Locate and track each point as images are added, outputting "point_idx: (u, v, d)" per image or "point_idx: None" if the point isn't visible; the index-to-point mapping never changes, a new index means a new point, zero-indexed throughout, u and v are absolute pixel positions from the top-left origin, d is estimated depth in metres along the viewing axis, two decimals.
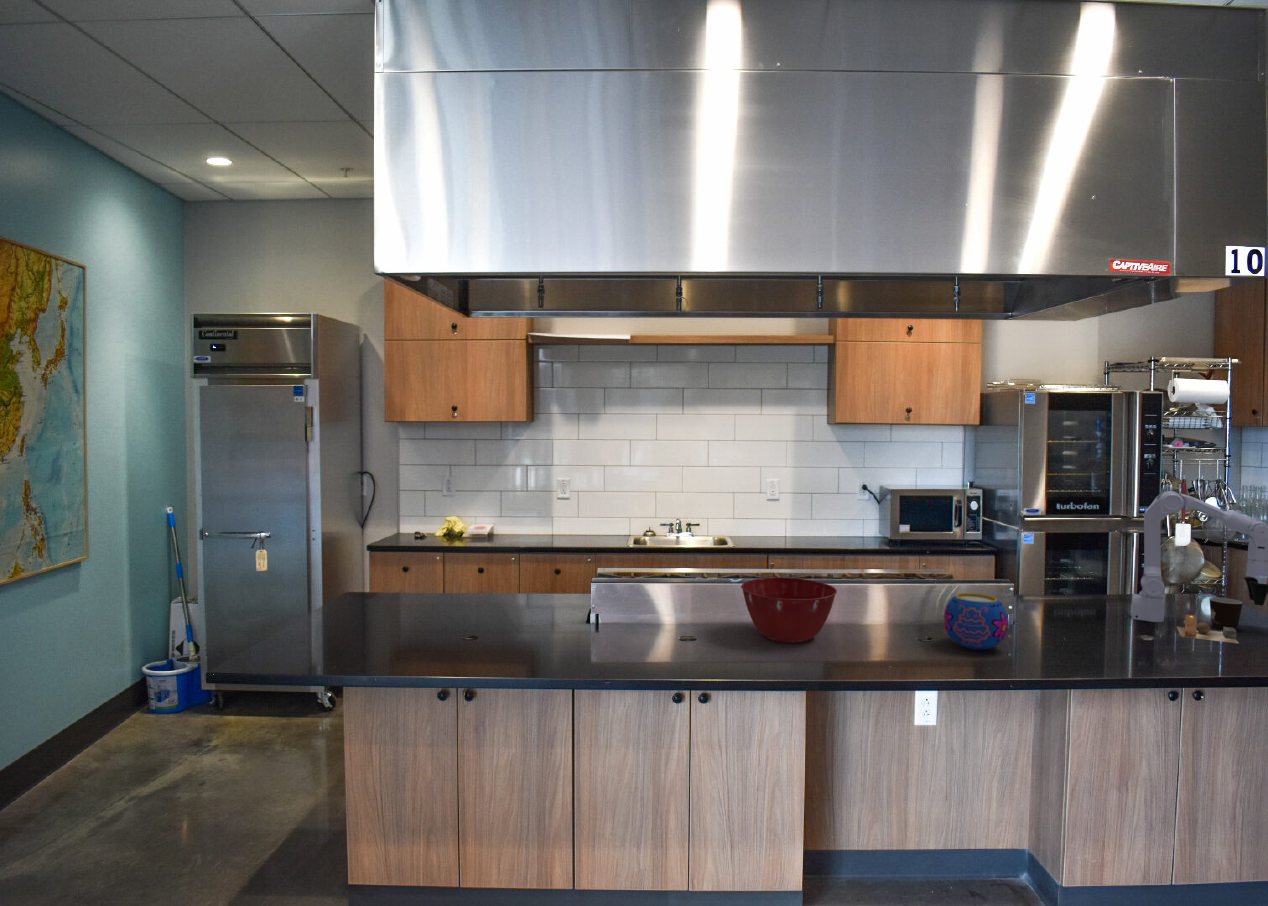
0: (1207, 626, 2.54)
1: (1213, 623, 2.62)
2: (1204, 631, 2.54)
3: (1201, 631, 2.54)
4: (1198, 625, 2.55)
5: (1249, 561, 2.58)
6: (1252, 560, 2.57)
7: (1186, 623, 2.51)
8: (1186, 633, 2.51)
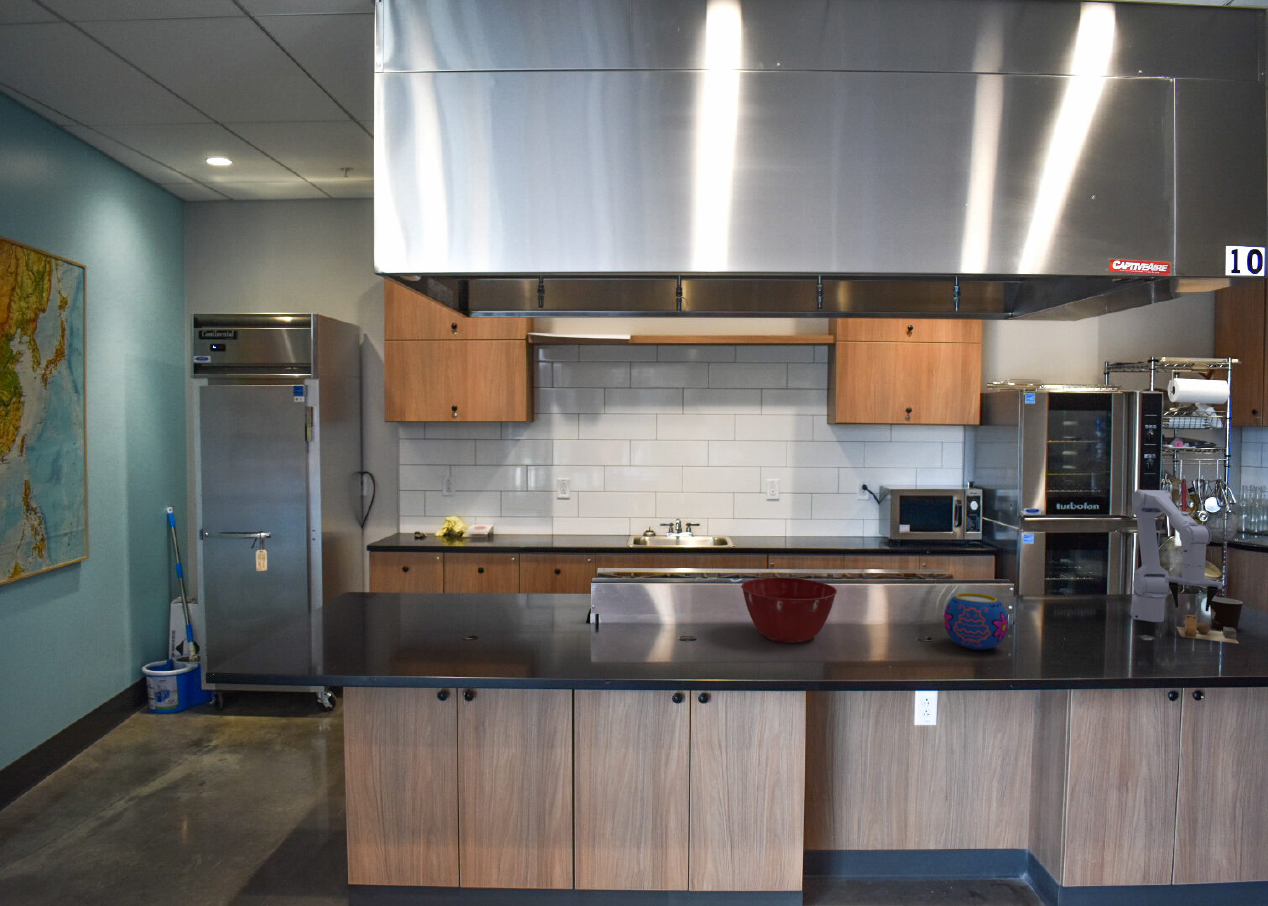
0: (1207, 626, 2.54)
1: (1213, 623, 2.62)
2: (1204, 631, 2.54)
3: (1201, 631, 2.54)
4: (1198, 625, 2.55)
5: None
6: None
7: (1186, 623, 2.51)
8: (1186, 633, 2.51)
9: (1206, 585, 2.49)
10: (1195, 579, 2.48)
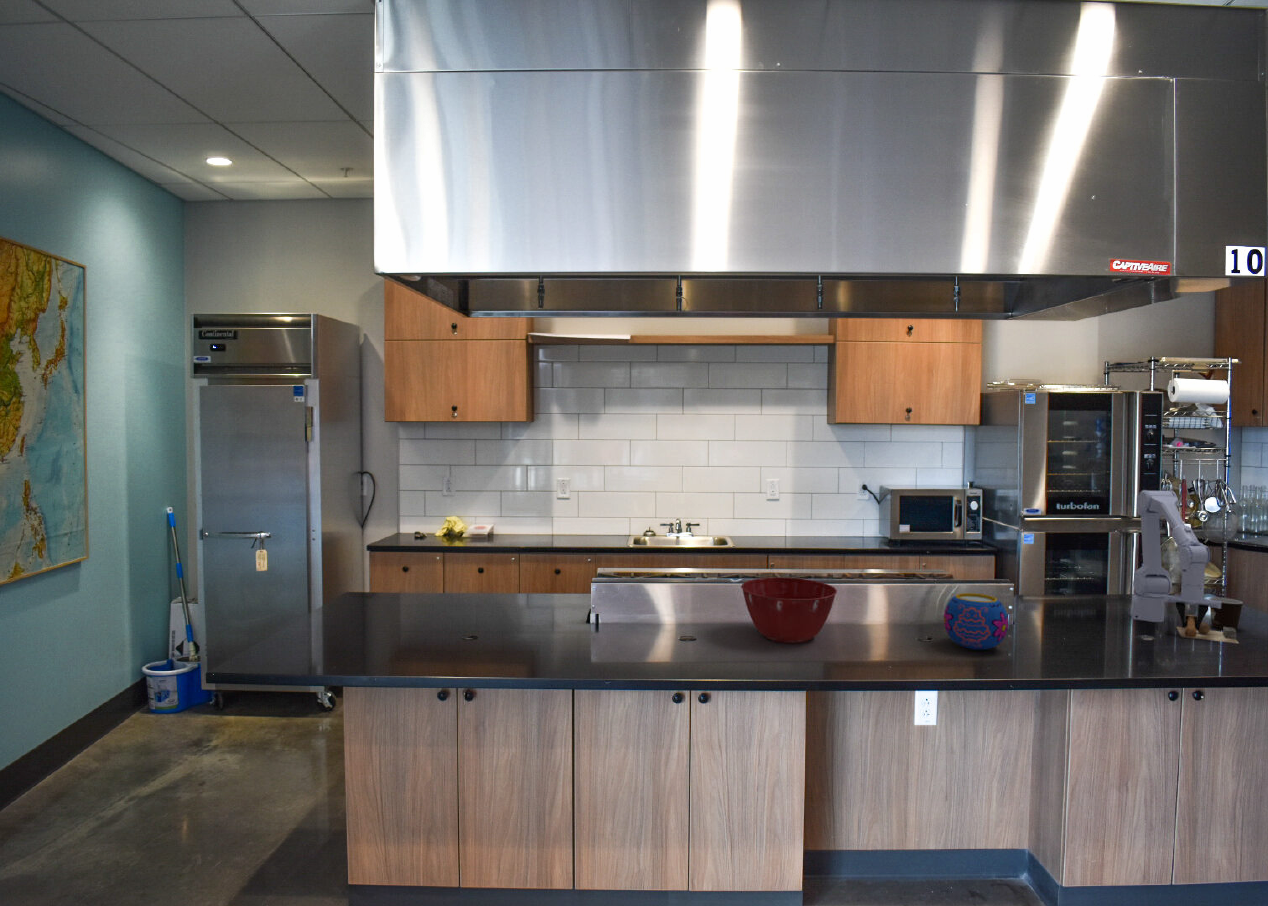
0: (1207, 626, 2.54)
1: (1213, 623, 2.62)
2: (1204, 631, 2.54)
3: (1201, 631, 2.54)
4: None
5: None
6: None
7: (1186, 623, 2.51)
8: (1186, 633, 2.51)
9: (1205, 604, 2.49)
10: (1194, 599, 2.48)
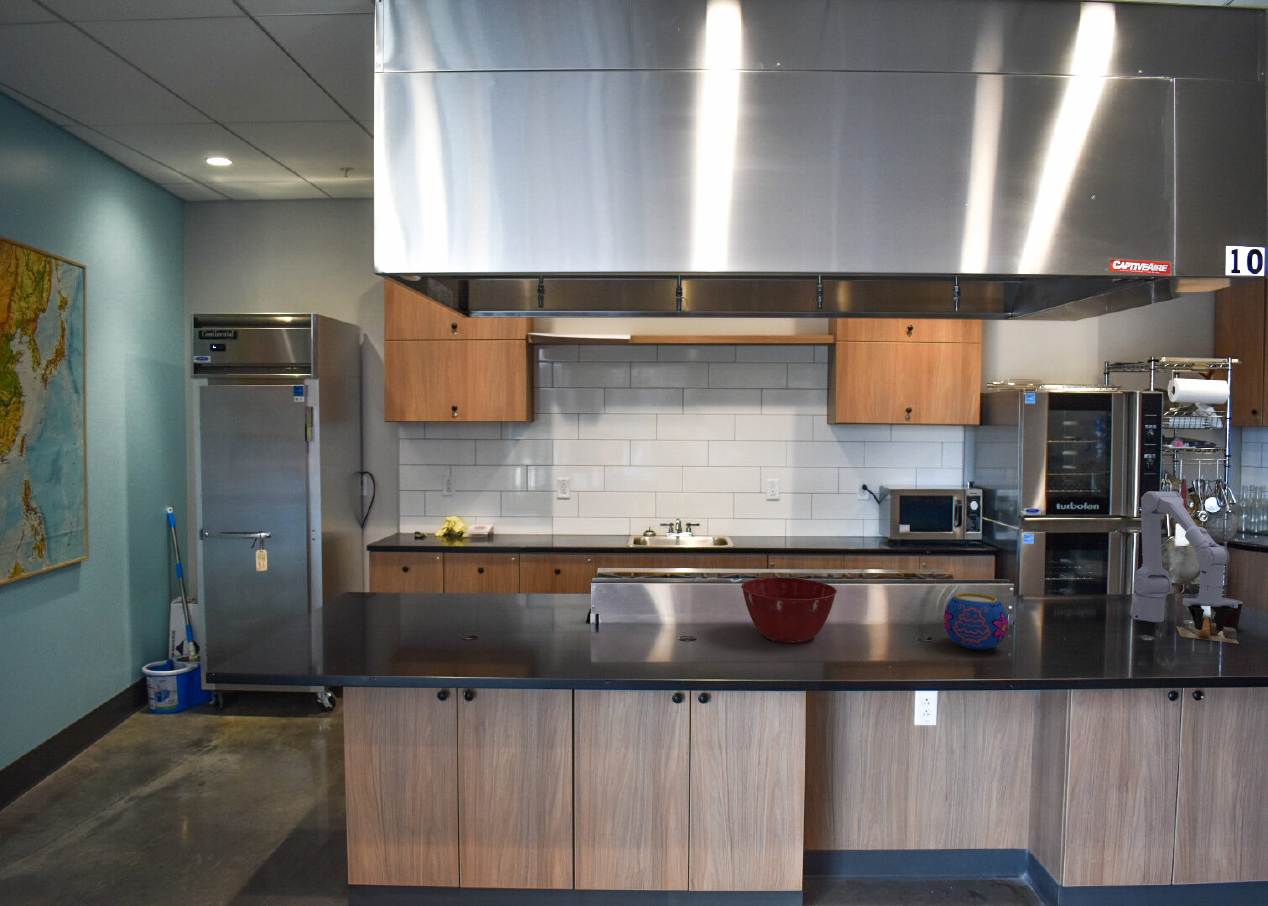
0: (1217, 632, 2.52)
1: None
2: (1211, 630, 2.53)
3: (1210, 628, 2.53)
4: None
5: None
6: None
7: None
8: (1201, 635, 2.49)
9: (1222, 605, 2.49)
10: (1217, 600, 2.47)
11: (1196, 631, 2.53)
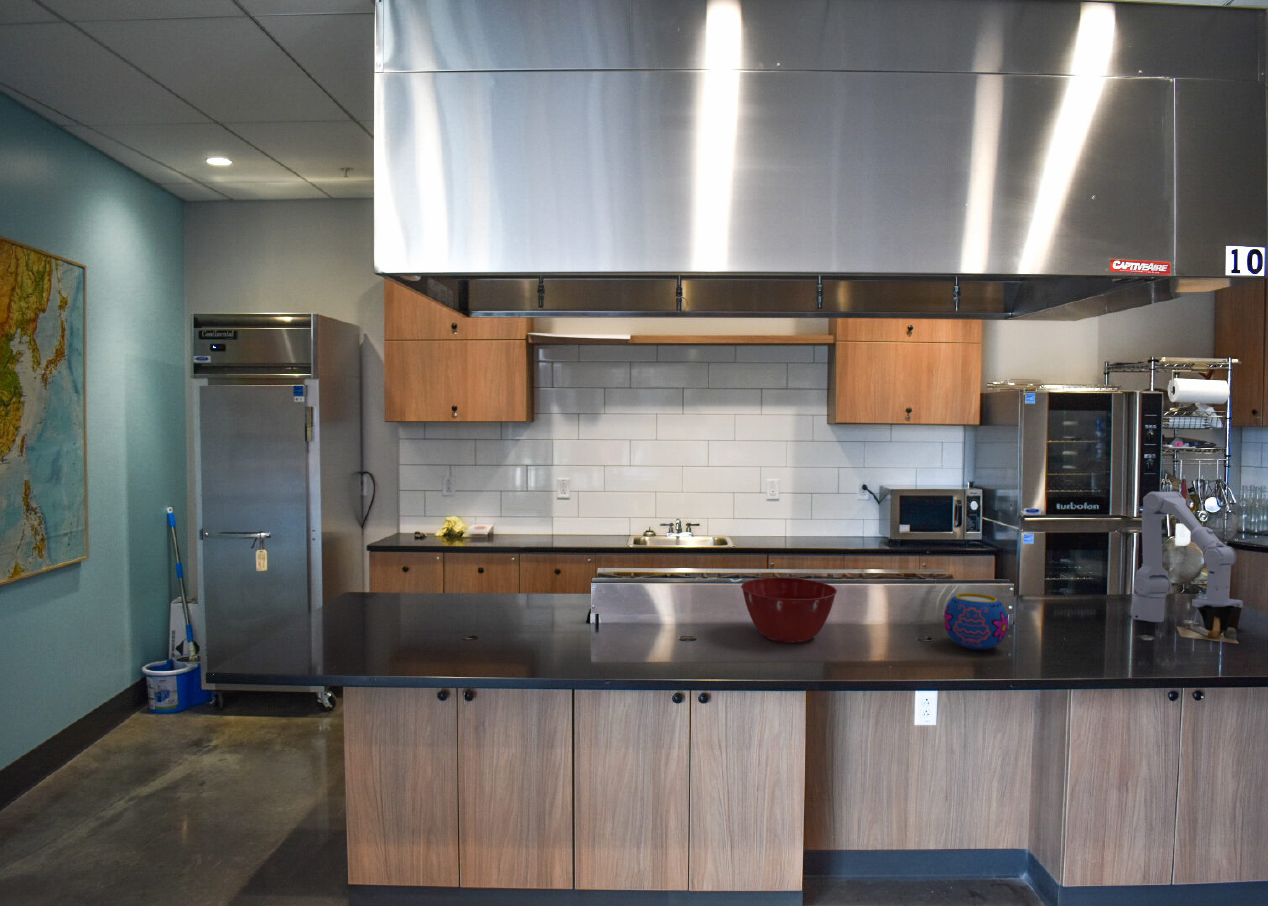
0: None
1: None
2: None
3: None
4: None
5: None
6: None
7: None
8: (1212, 636, 2.49)
9: None
10: (1226, 600, 2.46)
11: (1204, 632, 2.53)
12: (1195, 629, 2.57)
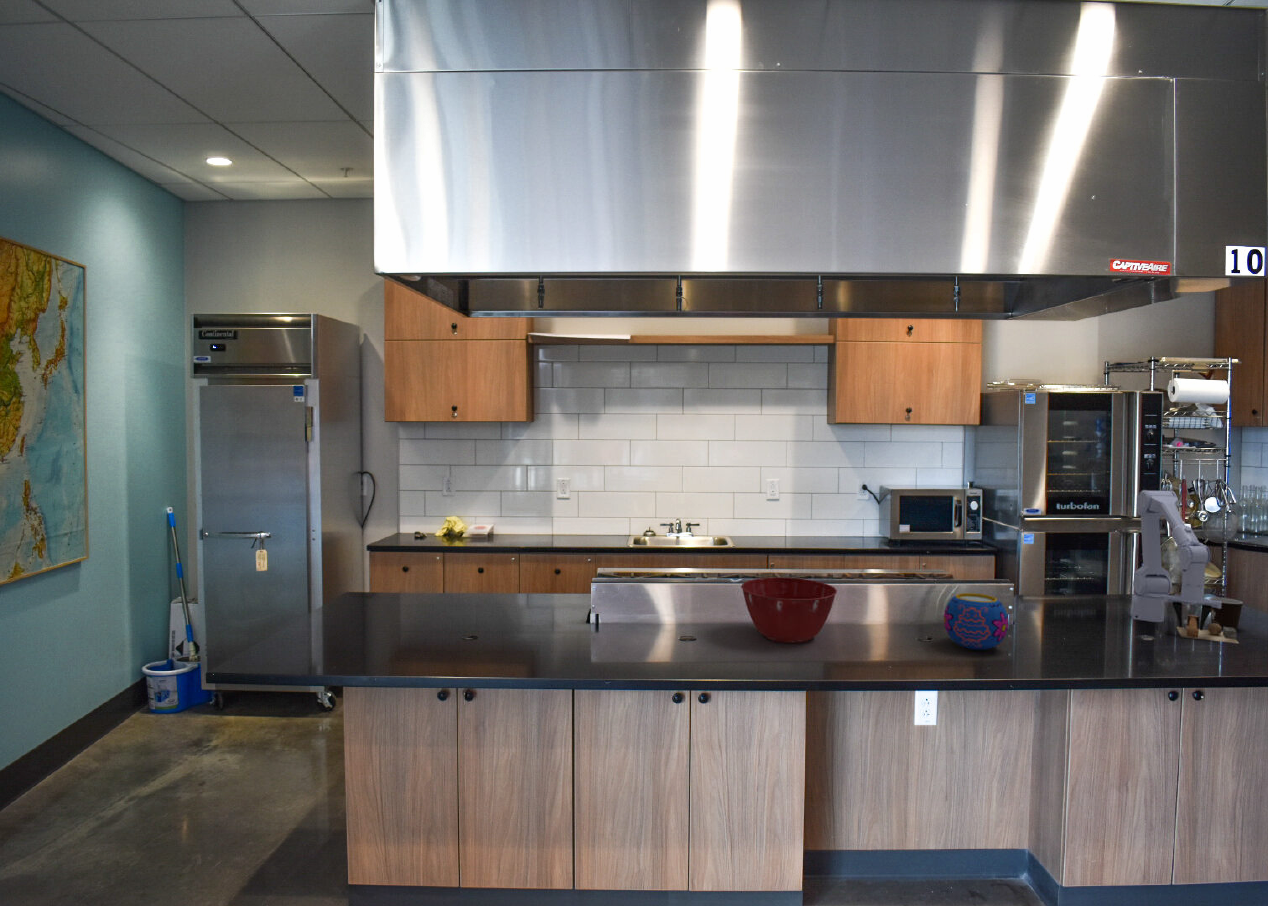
0: (1218, 633, 2.52)
1: None
2: (1213, 630, 2.53)
3: (1212, 627, 2.53)
4: (1219, 625, 2.53)
5: None
6: None
7: (1188, 623, 2.51)
8: (1188, 633, 2.51)
9: (1205, 604, 2.49)
10: (1194, 599, 2.48)
11: None
12: None
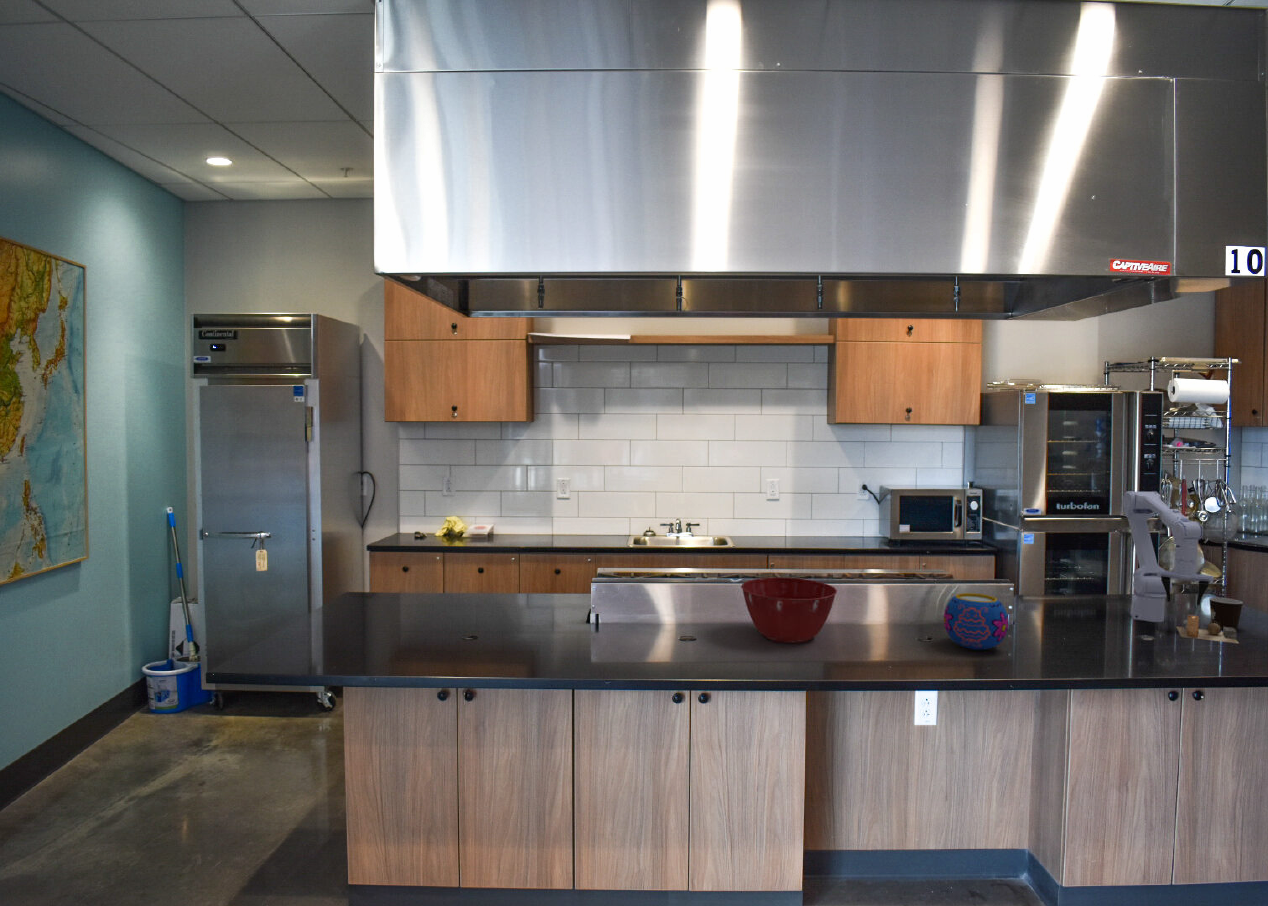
0: (1218, 632, 2.52)
1: None
2: (1212, 630, 2.53)
3: (1211, 627, 2.53)
4: (1217, 625, 2.53)
5: None
6: None
7: (1188, 623, 2.51)
8: (1188, 633, 2.51)
9: (1198, 579, 2.54)
10: (1187, 574, 2.53)
11: None
12: None
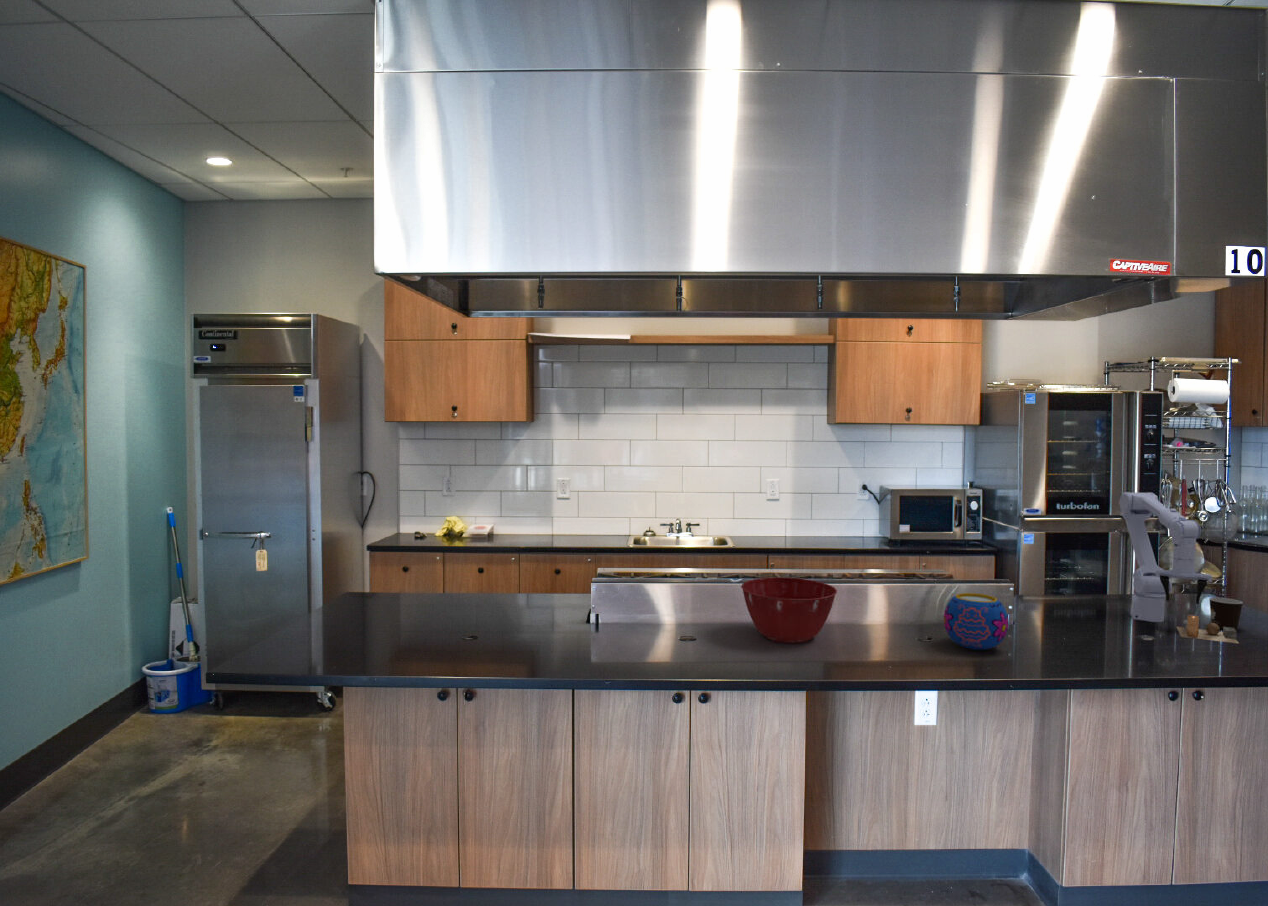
0: (1217, 632, 2.53)
1: None
2: (1211, 630, 2.53)
3: (1209, 627, 2.53)
4: (1215, 624, 2.53)
5: None
6: None
7: (1188, 623, 2.51)
8: (1188, 633, 2.51)
9: (1196, 578, 2.55)
10: (1185, 572, 2.54)
11: None
12: None
